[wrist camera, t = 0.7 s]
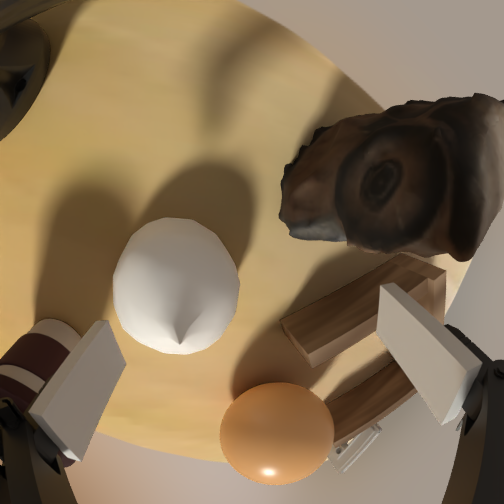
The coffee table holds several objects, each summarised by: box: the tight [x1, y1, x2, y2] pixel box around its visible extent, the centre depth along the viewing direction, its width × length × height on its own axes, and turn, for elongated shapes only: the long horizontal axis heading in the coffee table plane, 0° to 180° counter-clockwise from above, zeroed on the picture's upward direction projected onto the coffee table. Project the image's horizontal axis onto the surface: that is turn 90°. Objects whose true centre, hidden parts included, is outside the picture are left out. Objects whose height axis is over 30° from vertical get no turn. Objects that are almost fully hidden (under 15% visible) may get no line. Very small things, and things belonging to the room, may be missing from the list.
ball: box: [220, 382, 334, 485], centre depth 26 cm, size 13×13×13 cm
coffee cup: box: [0, 319, 81, 468], centre depth 16 cm, size 10×10×15 cm
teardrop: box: [113, 217, 240, 354], centre depth 20 cm, size 11×11×12 cm
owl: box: [279, 93, 504, 262], centre depth 18 cm, size 13×13×20 cm
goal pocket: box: [280, 253, 446, 448], centre depth 31 cm, size 21×18×8 cm
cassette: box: [327, 423, 382, 474], centre depth 36 cm, size 12×2×8 cm, turn 157°
